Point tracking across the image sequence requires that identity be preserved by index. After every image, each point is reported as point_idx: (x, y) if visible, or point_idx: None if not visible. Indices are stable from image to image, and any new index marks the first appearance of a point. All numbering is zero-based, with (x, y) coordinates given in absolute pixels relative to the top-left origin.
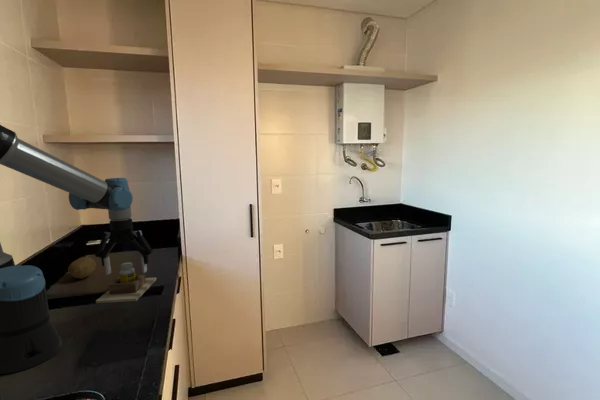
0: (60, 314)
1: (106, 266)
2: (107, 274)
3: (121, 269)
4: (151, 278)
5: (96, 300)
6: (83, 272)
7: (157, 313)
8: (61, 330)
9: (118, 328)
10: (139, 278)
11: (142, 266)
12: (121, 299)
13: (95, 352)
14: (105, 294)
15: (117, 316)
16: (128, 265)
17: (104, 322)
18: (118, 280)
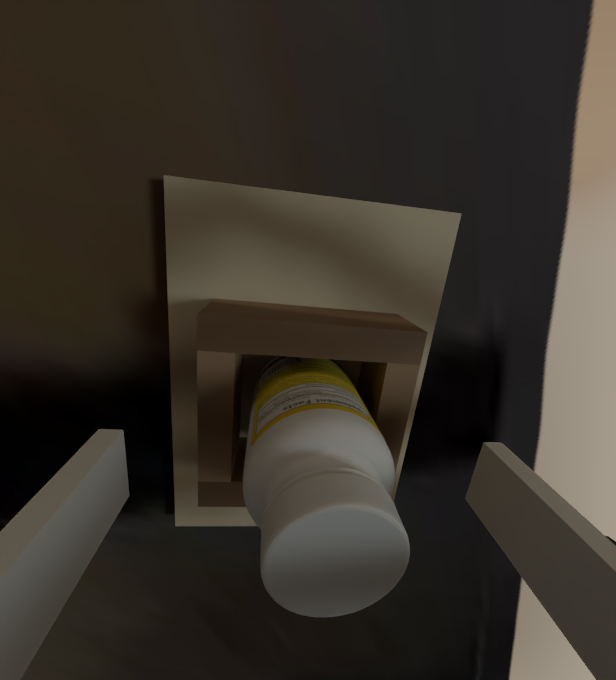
0: None
1: (63, 603)
2: (124, 499)
3: (258, 494)
4: (426, 229)
5: (176, 521)
6: None
7: (483, 608)
8: (173, 677)
9: (370, 673)
10: (398, 419)
11: (520, 563)
12: None
13: None
14: (187, 458)
15: (340, 616)
16: (377, 599)
17: (307, 645)
18: (232, 427)
